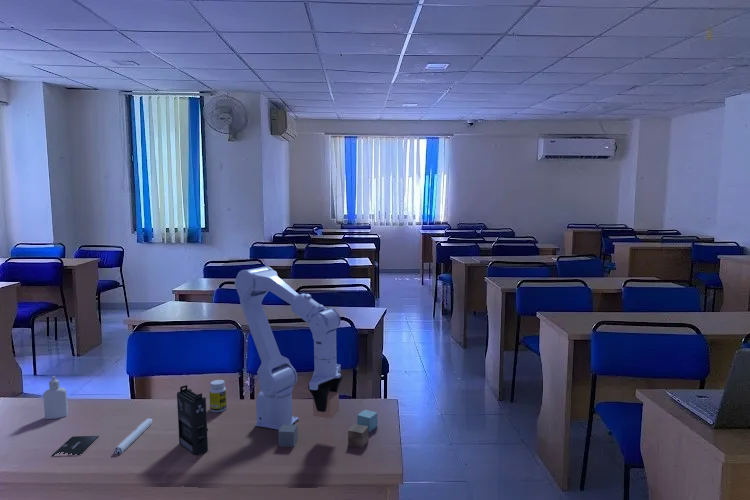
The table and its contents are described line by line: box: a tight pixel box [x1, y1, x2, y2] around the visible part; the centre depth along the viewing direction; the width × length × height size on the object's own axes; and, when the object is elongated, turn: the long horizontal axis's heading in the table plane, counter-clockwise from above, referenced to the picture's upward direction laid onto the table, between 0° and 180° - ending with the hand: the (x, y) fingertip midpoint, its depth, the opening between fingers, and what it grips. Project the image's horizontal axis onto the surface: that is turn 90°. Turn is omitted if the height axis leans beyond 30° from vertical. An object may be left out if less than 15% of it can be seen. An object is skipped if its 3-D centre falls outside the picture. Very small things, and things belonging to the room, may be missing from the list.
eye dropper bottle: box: [42, 375, 69, 420], centre depth 149 cm, size 4×6×12 cm
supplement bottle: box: [209, 379, 227, 413], centre depth 153 cm, size 5×5×8 cm
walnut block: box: [347, 423, 369, 449], centre depth 132 cm, size 4×4×4 cm
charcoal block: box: [277, 424, 299, 448], centre depth 133 cm, size 4×4×4 cm
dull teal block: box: [356, 409, 378, 433], centre depth 141 cm, size 4×4×4 cm
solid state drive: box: [51, 435, 100, 457], centre depth 132 cm, size 7×10×1 cm
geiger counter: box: [176, 384, 209, 457], centre depth 130 cm, size 10×4×15 cm, turn 45°
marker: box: [113, 417, 153, 455], centre depth 136 cm, size 18×2×2 cm, turn 178°
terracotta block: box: [312, 391, 340, 420], centre depth 135 cm, size 5×5×5 cm
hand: (326, 406), depth 135 cm, fingers closed on terracotta block, 5 cm apart
